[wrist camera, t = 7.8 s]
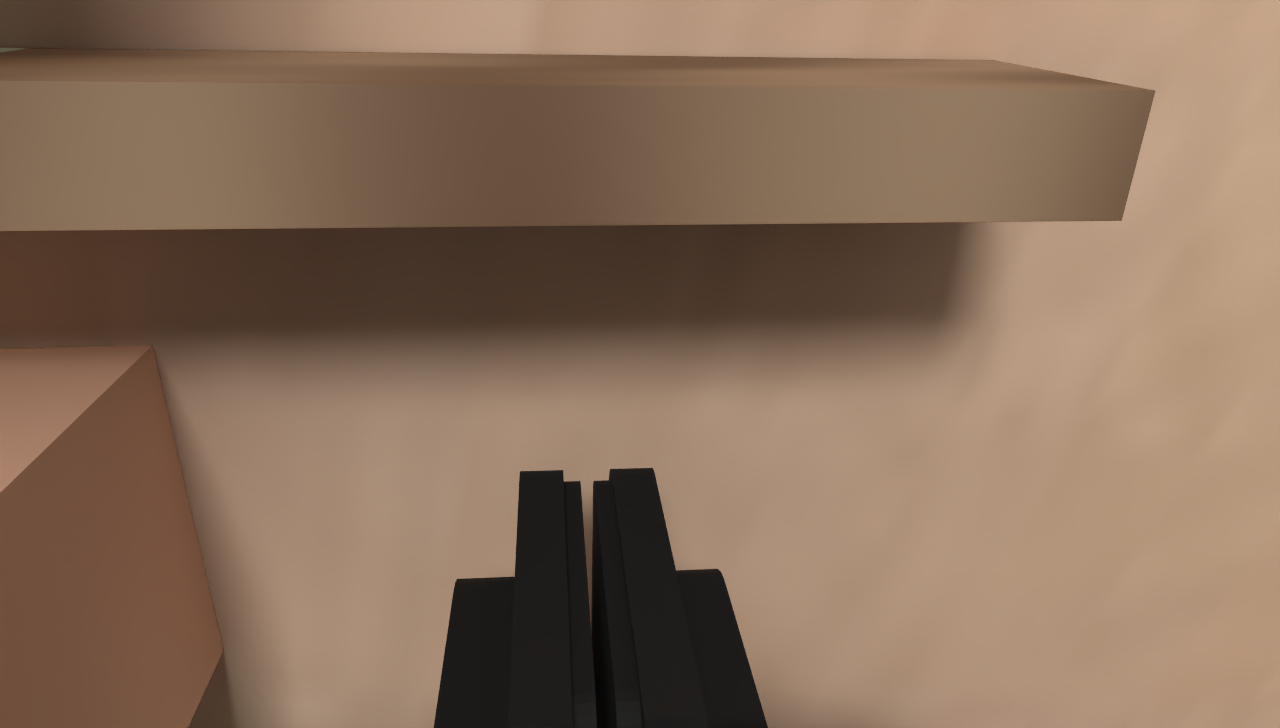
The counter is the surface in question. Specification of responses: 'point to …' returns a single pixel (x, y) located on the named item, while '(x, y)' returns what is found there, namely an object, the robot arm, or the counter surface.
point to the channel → (550, 140)
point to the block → (97, 547)
